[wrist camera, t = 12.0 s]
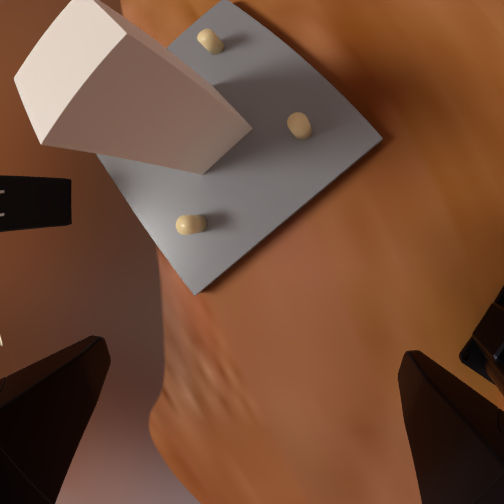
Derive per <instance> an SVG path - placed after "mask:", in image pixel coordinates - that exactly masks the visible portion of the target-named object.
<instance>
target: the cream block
mask: <svg viewBox="0 0 504 504" xmlns="http://www.w3.org/2000/svg"><path fill="white" fill-rule="evenodd" d="M14 81H15V83H16V86H17V89H18V91H19V94H20V96H21V99H22V101H23V104H24V107H25V109H26V112H27V114H28V116H29V119H30V121H31V124H32V126H33V128H34V130H35V133H36V135H37V137H38V139H39V141H40V144H41V145H47V146H53V147H60V148H66V149H73V150H79V151H85V152H90V153H96V154H102V155H107V156H113V157H118V158H123V159H129V160H134V161H139V162H144V163H149V164H154V165H159V166H163V167H168V168H173V169H177V170H182V171H186V172H191V173H195V174H200V175H203V174H204V173H205V172H206V171H207V170H208V169H209V168H210V167H211V166H212V165H213V164H215V163H216V162H217V161H218V160H219V159H220V158H221V157H222V156H223V155H224V154H225V153H226V152H227V151H229V150H230V149H231V148H232V147H233V146H234V145H235V144H236V143H237V142H238V141H240V140H241V139H242V138H243V137H244V136H245V135H246V134H247V133H248V132H250V131H251V130H252V129H253V128H252V127H251V126H250V125H249V124H248V123H247V122H246V121H245V119H244V118H243V117H242V116H241V115H240V114H239V113H238V112H237V111H236V110H235V109H234V108H233V107H232V106H231V105H230V104H229V103H228V101H227V100H226V99H225V98H224V97H223V96H222V95H221V94H220V93H219V92H218V91H217V90H216V89H215V88H214V87H213V86H212V85H211V84H210V83H208V82H207V81H206V80H205V79H204V78H202V77H201V76H200V75H199V74H198V73H196V72H195V71H194V70H193V69H192V68H190V67H189V66H188V65H187V64H185V63H184V62H183V61H182V60H180V59H179V58H178V57H177V56H175V55H174V54H173V53H171V52H170V51H169V50H168V49H166V48H165V47H164V46H162V45H161V44H160V43H158V42H157V41H156V40H154V39H153V38H152V37H150V36H149V35H148V34H146V33H145V32H144V31H142V30H141V29H140V28H138V27H137V26H135V25H134V24H133V23H131V22H130V21H128V20H127V19H126V18H124V17H123V16H121V15H120V14H118V13H117V12H115V11H114V10H112V9H111V8H110V7H108V6H107V5H105V4H104V3H102V2H100V1H99V0H71V2H70V3H69V4H68V5H67V6H66V8H64V10H63V11H62V12H61V13H60V14H59V16H58V17H57V18H56V19H55V21H54V22H53V23H52V24H51V26H50V27H49V28H48V30H47V31H46V32H45V34H44V35H43V36H42V37H41V39H40V40H39V41H38V43H37V44H36V46H35V47H34V49H33V50H32V51H31V53H30V54H29V56H28V57H27V59H26V60H25V62H24V63H23V65H22V66H21V68H20V69H19V71H18V73H17V74H16V76H15V77H14Z"/></svg>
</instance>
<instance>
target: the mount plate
mask: <svg viewBox="0 0 504 504" xmlns="http://www.w3.org/2000/svg"><path fill="white" fill-rule="evenodd" d="M166 49H168V50H169V51H170V52H171V53H173V54H174V55H175V56H177V57H178V58H179V59H180V60H182V61H183V62H184V63H185V64H187V65H188V66H189V67H190V68H192V69H193V70H194V71H195V72H196V73H198V74H199V75H200V76H201V77H202V78H204V79H205V80H206V81H207V82H208V83H210V84H211V85H212V86H213V87H214V88H215V89H216V90H217V91H218V92H219V93H220V94H221V95H222V96H223V97H224V98H225V99H226V100H227V101H228V103H229V104H230V105H231V106H232V107H233V108H234V109H235V110H236V111H237V112H238V113H239V114H240V115H241V116H242V117H243V118H244V119H245V121H246V122H247V123H248V124H249V125H250V126H251V127H252V128H253V129H252V130H251V131H250V132H248V133H247V134H246V135H245V136H244V137H243V138H242V139H241V140H240V141H238V142H237V143H236V144H235V145H234V146H233V147H232V148H231V149H230V150H229V151H227V152H226V153H225V154H224V155H223V156H222V157H221V158H220V159H219V160H218V161H217V162H216V163H215V164H213V165H212V166H211V167H210V168H209V169H208V170H207V171H206V172H205V173H204V174H203V175H200V174H195V173H191V172H186V171H182V170H177V169H173V168H168V167H163V166H159V165H154V164H149V163H144V162H139V161H134V160H129V159H123V158H118V157H113V156H107V155H102V154H96V155H97V156H98V158H99V159H100V161H101V162H102V164H103V165H104V167H105V169H106V170H107V172H108V173H109V175H110V177H111V178H112V180H113V181H114V183H115V184H116V186H117V187H118V189H119V190H120V192H121V193H122V195H123V196H124V198H125V199H126V201H127V202H128V204H129V205H130V206H131V208H132V210H133V211H134V213H135V214H136V215H137V217H138V218H139V220H140V221H141V223H142V224H143V226H144V227H145V228H146V230H147V231H148V233H149V234H150V236H151V237H152V239H153V240H154V241H155V243H156V244H157V246H158V247H159V248H160V250H161V251H162V253H163V254H164V255H165V257H166V258H167V260H168V261H169V262H170V264H171V265H172V266H173V268H174V269H175V270H176V272H177V273H178V275H179V276H180V277H181V279H182V280H183V281H184V283H185V284H186V285H187V287H188V288H189V289H190V291H191V292H192V293H193V294H194V296H195V295H197V294H199V293H201V292H202V291H203V290H204V289H206V288H207V287H208V286H209V285H210V284H212V283H213V282H214V281H215V280H216V279H218V278H219V277H220V276H221V275H222V274H223V273H225V272H226V271H227V270H228V269H229V268H231V267H232V266H233V265H234V264H235V263H237V262H238V261H239V260H240V259H241V258H243V257H244V256H245V255H246V254H247V253H249V252H250V251H251V250H252V249H253V248H255V247H256V246H257V245H258V244H259V243H260V242H262V241H263V240H264V239H265V238H266V237H268V236H269V235H270V234H271V233H272V232H274V231H275V230H276V229H277V228H278V227H280V226H281V225H282V224H283V223H284V222H286V221H287V220H288V219H289V218H290V217H292V216H293V215H294V214H295V213H296V212H298V211H299V210H300V209H301V208H302V207H304V206H305V205H306V204H307V203H308V202H310V201H311V200H312V199H313V198H314V197H316V196H317V195H318V194H319V193H320V192H321V191H323V190H324V189H325V188H326V187H327V186H329V185H330V184H331V183H332V182H333V181H335V180H336V179H337V178H338V177H339V176H341V175H342V174H343V173H344V172H345V171H347V170H348V169H349V168H350V167H351V166H353V165H354V164H355V163H356V162H357V161H359V160H360V159H361V158H362V157H363V156H365V155H366V154H367V153H368V152H369V151H371V150H372V149H373V148H374V147H375V146H377V145H378V144H379V143H380V142H381V141H382V139H383V138H382V137H381V135H380V134H379V133H378V132H377V131H376V130H375V129H374V128H373V127H372V125H371V124H370V123H369V122H368V121H367V120H366V119H365V118H364V117H363V116H362V115H361V114H360V113H359V111H358V110H357V109H356V108H355V107H354V106H353V105H352V104H351V103H350V102H349V101H348V100H347V99H346V98H345V97H344V96H343V95H342V94H341V93H340V92H339V91H338V90H337V89H336V88H335V87H334V86H333V85H332V84H331V83H330V82H328V81H327V80H326V79H325V78H324V77H323V76H322V75H321V74H320V73H319V72H318V71H317V70H316V69H314V68H313V67H312V66H311V65H310V64H309V63H308V62H307V61H306V60H304V59H303V58H302V57H301V56H300V55H299V54H297V53H296V52H295V51H294V50H293V49H292V48H290V47H289V46H288V45H287V44H286V43H284V42H283V41H282V40H281V39H279V38H278V37H277V36H276V35H274V34H273V33H272V32H271V31H269V30H268V29H267V28H266V27H264V26H263V25H262V24H260V23H259V22H258V21H256V20H255V19H254V18H252V17H251V16H250V15H248V14H247V13H245V12H244V11H243V10H241V9H240V8H238V7H237V6H236V5H234V4H233V3H231V2H230V1H228V0H221V1H220V2H219V3H217V4H216V5H215V6H214V7H212V8H211V9H210V10H209V11H208V12H206V13H205V14H204V15H203V16H202V17H200V18H199V19H198V20H197V21H196V22H195V23H193V24H192V25H191V26H190V27H189V28H188V29H187V30H185V31H184V32H183V33H182V34H181V35H180V36H179V37H178V38H177V39H176V40H175V41H174V42H172V43H171V44H170V45H169V46H168V47H167V48H166Z"/></svg>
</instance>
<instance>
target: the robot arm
mask: <svg viewBox="0 0 504 504" xmlns="http://www.w3.org/2000/svg"><path fill="white" fill-rule="evenodd" d="M466 354H468V356H467V357H466V358H464V356H465V355H466ZM459 359H460V360H461V362H462V363H463V364H465V365H466V366H468V367H469V368H471V369H472V370H474V371H475V372H477V373H478V374H480V375H481V376H483V377H484V378H486V379H487V380H489V381H490V382H492V383H493V384H495V385H496V386H497V387H498V389H499V390H500V392H501V393H502V394H503V396H504V286H503V288H502V290H501V291H500V293H499V295H498V296H497V298H496V300H495V301H494V303H493V304H491V306H490V307H489V309H488V310H487V312H486V314H485V315H484V317H483V318H482V320H481V321H480V323H479V324H478V326H477V327H476V329H475V330H474V332H473V335H472V337H471V338H470V340H469V341H468V342H467V344H466V345H465V347H464V348H463V349H462V351H461V352H460V354H459ZM110 363H111V359H110V354H109V351H108V348H107V345H106V341H105V339H104V338H103V337H101V336H94V335H92V336H89V337H87V338H85V339H83V340H81V341H79V342H77V343H75V344H73V345H71V346H69V347H67V348H65V349H62V350H60V351H58V352H56V353H54V354H52V355H50V356H48V357H46V358H44V359H42V360H40V361H38V362H35V363H33V364H31V365H29V366H27V367H25V368H23V369H21V370H19V371H17V372H15V373H13V374H11V375H9V376H7V377H4V378H2V379H0V504H55V502H56V500H57V497H58V494H59V492H60V489H61V487H62V484H63V481H64V479H65V476H66V474H67V471H68V469H69V466H70V464H71V461H72V459H73V457H74V454H75V452H76V449H77V447H78V445H79V442H80V440H81V438H82V436H83V433H84V431H85V428H86V426H87V424H88V422H89V420H90V417H91V415H92V413H93V411H94V408H95V406H96V404H97V401H98V399H99V396H100V393H101V390H102V387H103V384H104V381H105V378H106V375H107V372H108V370H109V367H110ZM398 383H399V389H400V396H401V403H402V410H403V417H404V423H405V427H406V431H407V435H408V440H409V444H410V448H411V452H412V457H413V461H414V466H415V470H416V475H417V480H418V485H419V490H420V495H421V501H422V504H504V411H502V410H501V409H498V407H497V406H495V405H494V404H493V403H491V402H490V401H489V400H487V399H486V398H484V397H483V396H482V395H480V394H479V393H478V392H476V391H475V390H473V389H472V388H471V387H469V386H468V385H467V384H465V383H464V382H462V381H461V380H460V379H458V378H457V377H456V376H454V375H453V374H451V373H450V372H449V371H447V370H446V369H444V368H443V367H442V366H440V365H439V364H437V363H436V362H435V361H433V360H432V359H430V358H429V357H428V356H426V355H425V354H423V353H422V352H421V351H419V350H412V351H407V352H405V354H404V356H403V359H402V363H401V366H400V369H399V372H398Z"/></svg>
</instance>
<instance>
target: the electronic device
mask: <svg viewBox="0 0 504 504" xmlns="http://www.w3.org/2000/svg"><path fill="white" fill-rule="evenodd" d="M71 222H72V220H71V180H70V179H64V178H47V177H28V176H1V175H0V232H5V231H14V230H24V229H33V228H44V227H55V226H66V225H70V224H72V223H71Z"/></svg>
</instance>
